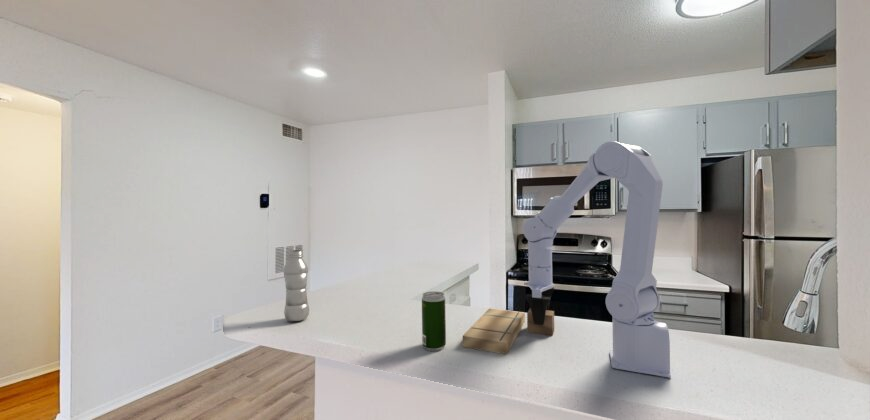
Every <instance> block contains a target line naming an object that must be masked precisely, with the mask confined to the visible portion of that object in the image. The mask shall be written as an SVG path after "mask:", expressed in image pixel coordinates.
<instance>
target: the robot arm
mask: <svg viewBox="0 0 870 420" xmlns="http://www.w3.org/2000/svg"><path fill="white" fill-rule="evenodd" d="M611 179H616V180H617V181H618V182H619V184H621V185H622V186H623V187H624V188H625V189H627V190H628V195H627V203H626V204H627V205H626V216H625V223H624V232H623V240H622V247H621V248H622V249H621V259H620V267H619V270H618V272H617V273H616V274H615V275H616V276H615V277H614V278H613V279H612V285H611V289H610V291H608V292H607V295H606V296H605V306H606V310H607V311H608V313H609V314H610V315H611V316H612V317H611V318H612V349H610V350H609V358H610V363H611V367H612V368H613V369H617V370H620V371H621V370H622V371H629V372H634V373H640V374H647V375H653V376H657V377H663V378H671V377H672V374H671V345H670V344H671V342H670V341H671V340H670V332H669V327H668V324H667V323H665V322H664V321H663V322H661V321H658V320H655V316H654V312H655V311H657V310H658V308H659V306H660V303H661V300H660V295H659V293H658V290H657V282H658V281H657V279H656V277H655V276H654V275H653V273H652V272H653V264H654V256H655V248H656V241H657V232H658V225H659V224H658V223H659V216H660V210H661V209H660V208H661V200H662V193H663V179H662V177H661V176H660V174H659V172H658V169H657V168H656V166H655V164H654V161H653V155H652V154H651V153H649V152H648V151H646V150H645V149H643V148H642V147H641V146H639V145H632V144H628V143H627V144H626V143H622V142H621V143H620V142H618V141H615V140H611V141H606V142H603V143H602V144H601V145H600V146H599V147H598V148H597V149H596V151H595V152H593V154H592V155H590V156H589V157H588V160H587V163H586V165H585V166H584V168H583V169H582V170H581V171H580V173H578V175H577V176H576V177H575V179H574V180H573V181H572V182H571V183H570V184H569V186H568V187H567V188H566V190H565V191H564V192H563V193H562V195H555V196H553V197H549V199H547V201H546V202H547V204H546V205H544V207H543V208H542V209H541V210H540V211H538V212H537V213H536V215H535V217H530V218H528V219H527V218H526V221H525V222H524V223H523V227H522V232H523V236H524V238H526V240H527V243H528V245H527V248H528V252H527V254H528V257H527V258H528V281H527V280H525V281H524V282H523V284H524V285H523V286H527V287H529V288H530V290H531V293H526V294H525V300H526V301H527V303H528V305H529V309H530V308H531V312H532V316H533V321H534V324H537V325H543V324H544V321H545V314H546V310H549V309H550V303H551V302H550V301H551V297H552V296H553V295H552V294H553V293H554V291H555V287H554V282H553V245H554V239H555V237H556V236H557V233H558V229H559V228H560V227H561V226H562V225H563V224H564V222H566V221H567V220H568V219H569V218H570V217H571V216H572V215H573V213H574V212H575V207H574V206H575V204H577V202H578V201H579V200H581V199H582V198H583V197H585V195H586V194H587V193H588V192H590V191H591V190H592V189H593V188H594V187H595V186H597V184H598V183H599V182H602V181H607V180H611Z"/></svg>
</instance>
